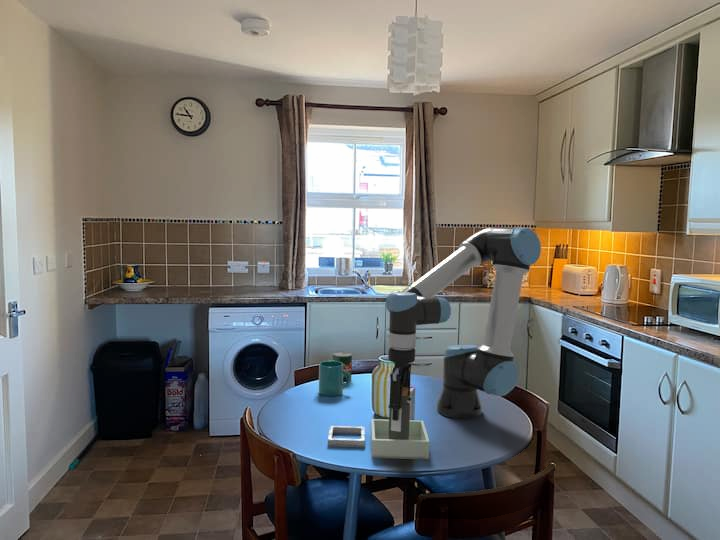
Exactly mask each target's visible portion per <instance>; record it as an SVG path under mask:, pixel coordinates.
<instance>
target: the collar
mask: <svg viewBox="0 0 720 540" xmlns="http://www.w3.org/2000/svg"><path fill="white" fill-rule="evenodd" d="M365 427H366V426H354V425H353V426H349V425H330V426H329V429H328V430H329V431H328V437H327V447H334V448H335V447H336V448H365V446H366V445H365V444H366V443H365V442H366V438H365V436H366V435H365V434H366V433H365V431H366V430H365V429H366V428H365ZM335 434H336V435H337V434H339V435H341V434H342V435H360V438H333V437H334V435H335Z"/></svg>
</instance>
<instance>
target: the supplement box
mask: <svg viewBox="0 0 720 540" xmlns="http://www.w3.org/2000/svg"><path fill="white" fill-rule="evenodd" d="M409 397H410V398H411V401H408V402H409V404H410V420H415V411H416V409H415V408H416V406H415V405H416V387H415V386H410V396H409Z"/></svg>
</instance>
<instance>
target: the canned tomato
mask: <svg viewBox="0 0 720 540" xmlns="http://www.w3.org/2000/svg"><path fill="white" fill-rule="evenodd" d="M352 357H353V353H352V352H351V351H342V350H339V351H335V352H333V353H332V361H339V362H342V363H343V370H344V371H347V372H348V373H349V374H350V376H351V377H352V370H353V369H352V368H353V365H352V363H353V362H352V361H353V358H352ZM347 381H348V376H347V375H346V374H345V373H343V382H347Z"/></svg>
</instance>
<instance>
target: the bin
mask: <svg viewBox="0 0 720 540" xmlns="http://www.w3.org/2000/svg"><path fill="white" fill-rule="evenodd" d="M370 420H371V422H370V423H371V424H370V425H371V426H370V443H371V444H370V447H371V449H370V450H371V458H372V459H402V460H405V459H406V460H407V459H408V460H430V440H429V436H428V431H427V429H426V426H425V421H424V420H415V419H414V420H410V421H409V440H394V439H389V419H384V418H383V419H382V418H381V419H380V418H379V419H377V418H372V419H370Z"/></svg>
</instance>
